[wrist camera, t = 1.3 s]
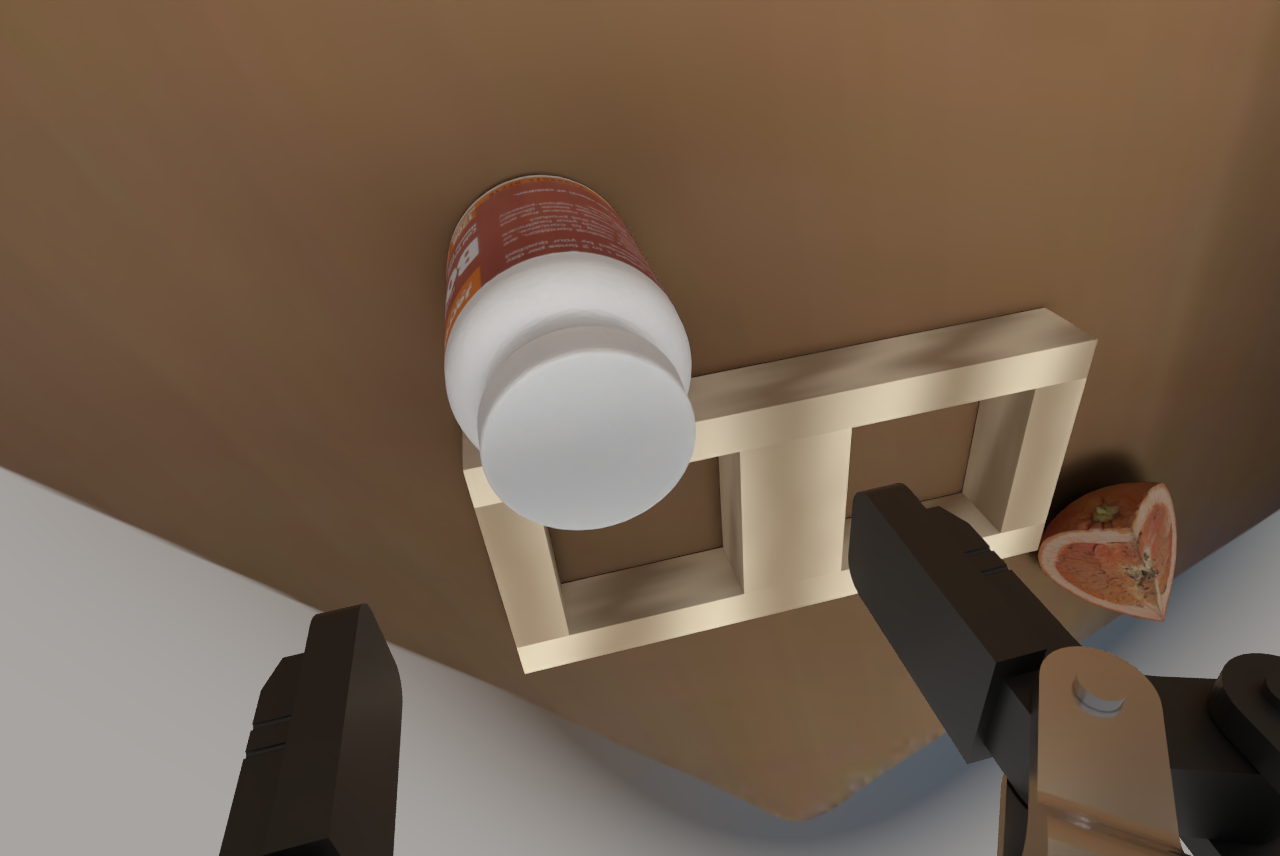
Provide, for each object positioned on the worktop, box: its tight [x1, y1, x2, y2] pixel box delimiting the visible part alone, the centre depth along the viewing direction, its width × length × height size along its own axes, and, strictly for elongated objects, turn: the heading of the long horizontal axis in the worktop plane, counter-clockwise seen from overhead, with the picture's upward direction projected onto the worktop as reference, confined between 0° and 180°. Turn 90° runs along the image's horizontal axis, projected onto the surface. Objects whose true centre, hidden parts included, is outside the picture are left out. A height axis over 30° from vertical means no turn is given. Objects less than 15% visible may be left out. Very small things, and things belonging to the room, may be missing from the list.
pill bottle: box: [444, 175, 696, 530], centre depth 20 cm, size 6×6×11 cm
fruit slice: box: [1038, 482, 1177, 621], centre depth 35 cm, size 8×7×5 cm
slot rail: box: [462, 308, 1098, 674], centre depth 30 cm, size 24×11×3 cm, turn 97°
